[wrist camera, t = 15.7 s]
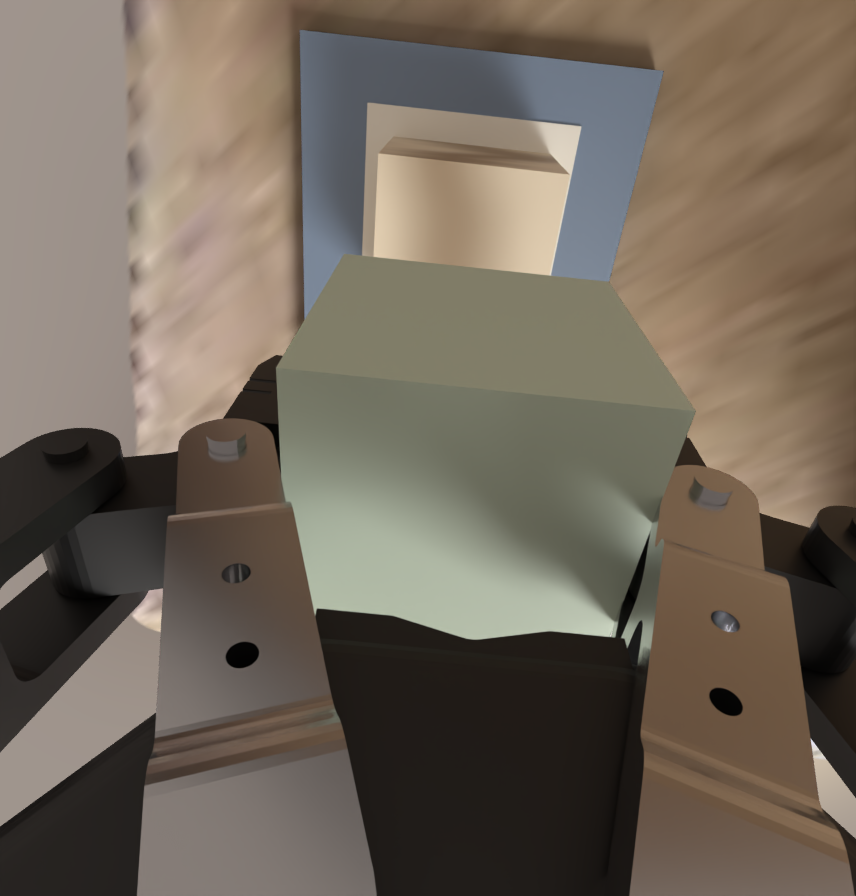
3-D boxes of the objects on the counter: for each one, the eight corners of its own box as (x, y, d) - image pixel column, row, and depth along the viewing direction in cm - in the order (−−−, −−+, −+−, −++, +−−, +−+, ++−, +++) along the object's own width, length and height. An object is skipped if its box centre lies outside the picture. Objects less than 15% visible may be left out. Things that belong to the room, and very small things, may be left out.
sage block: (608, 281, 11) (695, 410, 7) (554, 493, 14) (594, 676, 10) (344, 254, 11) (276, 368, 7) (340, 471, 14) (289, 647, 10)
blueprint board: (656, 70, 22) (664, 70, 21) (527, 577, 36) (529, 590, 36) (305, 30, 22) (299, 29, 21) (312, 555, 36) (308, 568, 35)
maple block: (550, 153, 23) (570, 174, 19) (522, 305, 26) (533, 352, 22) (393, 136, 23) (378, 153, 19) (384, 290, 26) (369, 334, 22)
